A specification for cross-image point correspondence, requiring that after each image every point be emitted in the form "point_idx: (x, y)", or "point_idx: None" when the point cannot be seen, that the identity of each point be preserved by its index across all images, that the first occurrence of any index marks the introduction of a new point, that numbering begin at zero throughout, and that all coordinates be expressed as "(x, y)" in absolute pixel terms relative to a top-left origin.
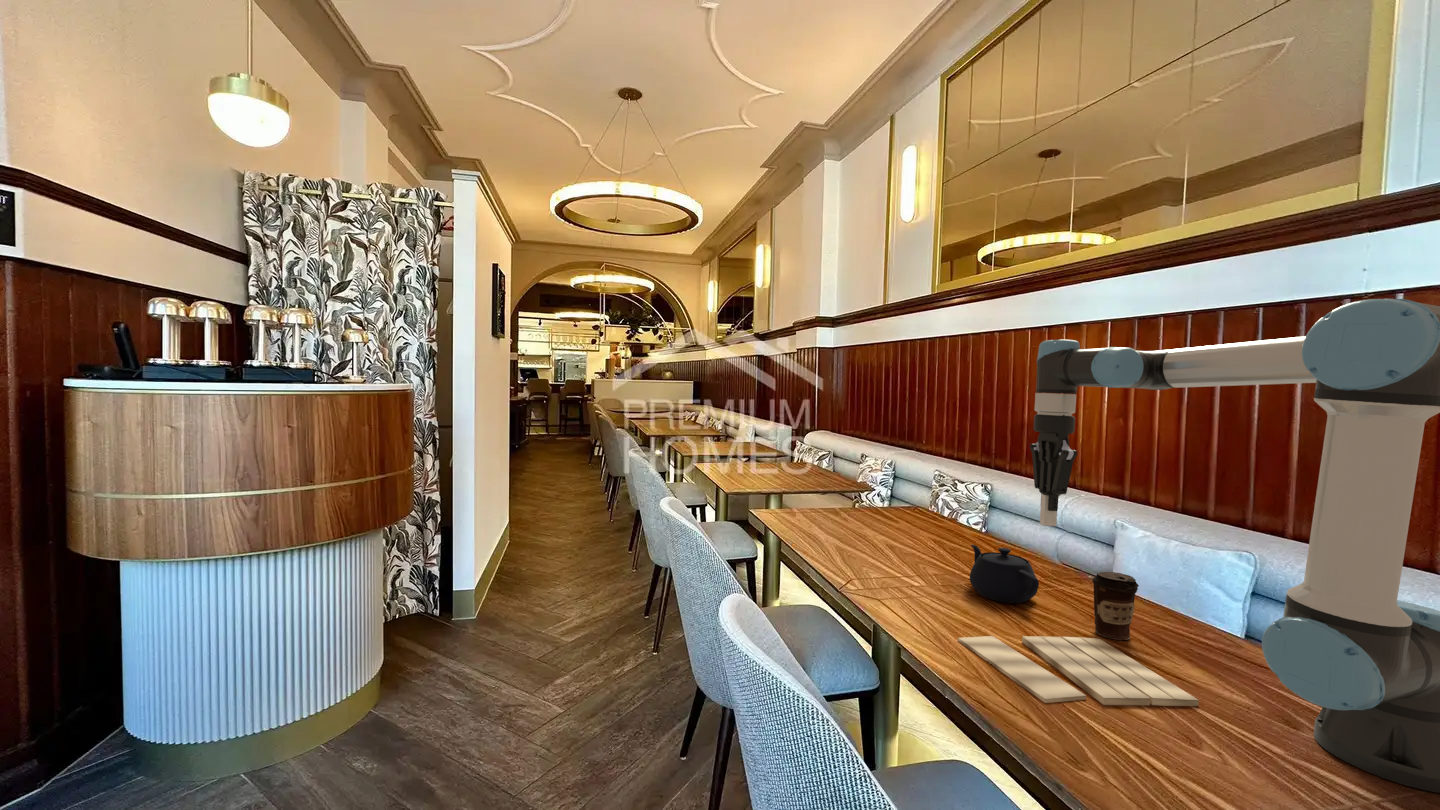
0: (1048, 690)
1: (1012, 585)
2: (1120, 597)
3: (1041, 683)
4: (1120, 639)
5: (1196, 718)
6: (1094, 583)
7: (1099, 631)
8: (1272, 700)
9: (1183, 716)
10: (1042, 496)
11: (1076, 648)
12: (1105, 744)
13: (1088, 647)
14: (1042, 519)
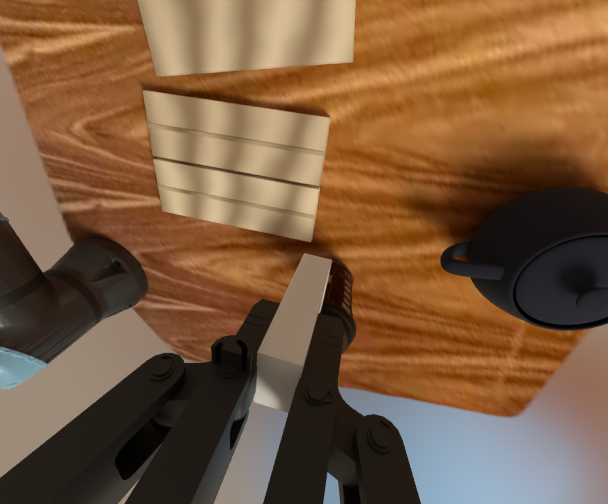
0: (161, 18)
1: (489, 235)
2: None
3: (180, 23)
4: None
5: (141, 182)
6: (333, 303)
7: (333, 263)
8: (187, 286)
9: (143, 171)
10: (294, 349)
11: (279, 177)
12: (59, 7)
13: (281, 199)
14: (310, 268)
